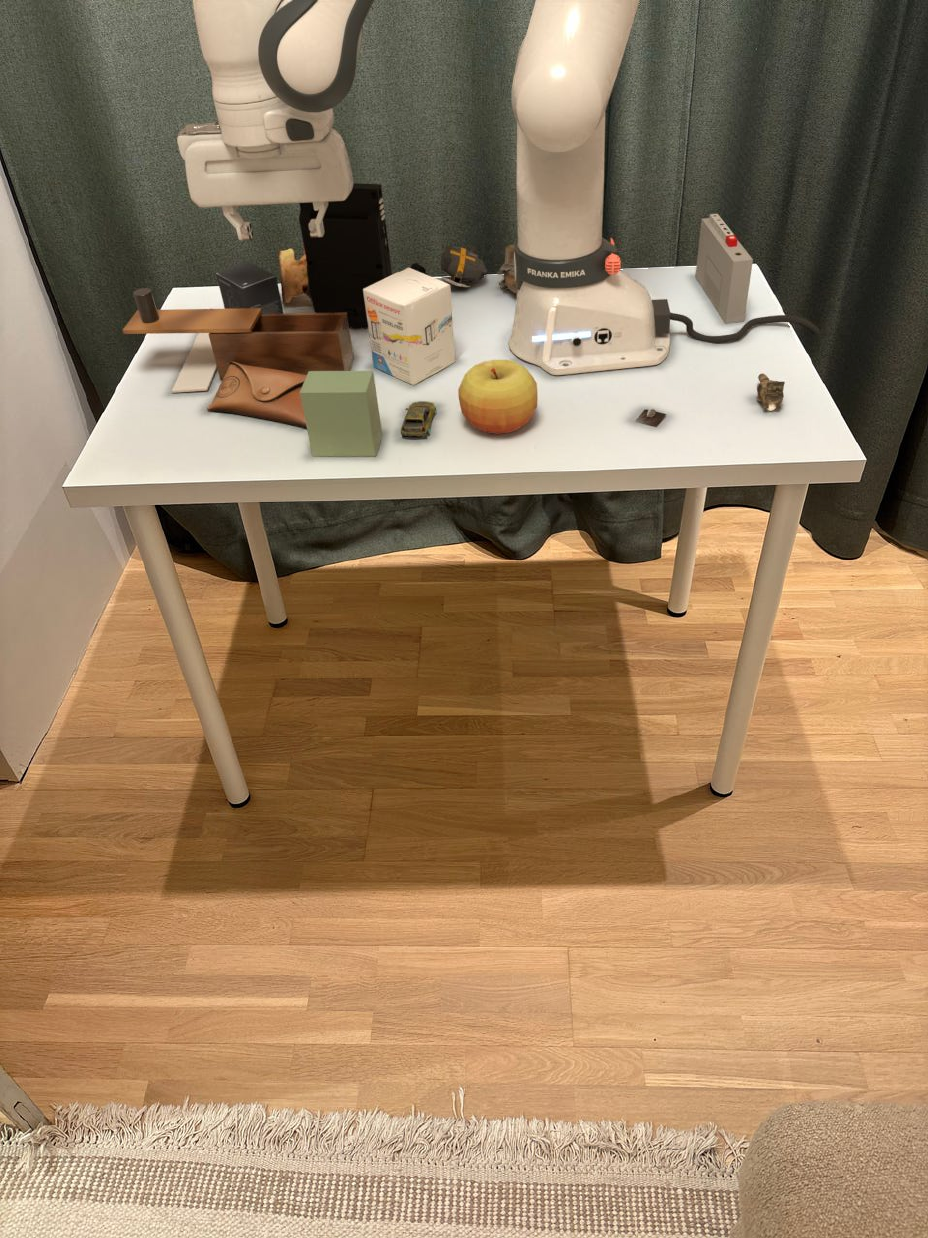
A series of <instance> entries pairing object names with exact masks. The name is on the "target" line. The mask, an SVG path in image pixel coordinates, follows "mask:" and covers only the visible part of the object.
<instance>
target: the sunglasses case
mask: <svg viewBox="0 0 928 1238" xmlns="http://www.w3.org/2000/svg"><path fill="white" fill-rule="evenodd" d="M306 377H307V375H304V374H298V373H293V372H287V371H281V370H275V369H269V368H261V367H255V366H248V365H243V364H239V363H236V362H230V366H229V368H228V369H227V372H226V374H225V376H224V378H223V380H222V381H221V383H220V385H219V386H218V389H217V391H216V393H215V395H214V397H213V400H212V402H211V403H210V404H209V405H208V406H207V407H206V410H208V411H212V412H213V411H214V412H223V413H231V414H235V415H241V416H247V417H252V418H257V419H260V420H261V419H262V420H266V421H271V422H275V423H279V424H283V425H289V426H295V427H301V428H307V426H306V421H305V416H304V411H303V406H302V401H301V397H300V390H301V388H302V386H303V383H304V381H305V379H306Z"/></svg>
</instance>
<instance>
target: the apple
mask: <svg viewBox="0 0 928 1238" xmlns="http://www.w3.org/2000/svg"><path fill="white" fill-rule="evenodd" d="M538 399H539V398H538V384H537V382H536V380H535V378H534V376H533V375H532V373H531V372H530V371H529V370H528V369H527V367H525V365H524V366H523V364H520V363H518V362H516V361H512V360H508V359H491V360H485V361H482V362H480V363H478V364H477V363H476V364H474V365H473V366H472V367H471V368H470V369H469V370H467V372H465V374H464V376H463V378H462V379H461V382H460V385H459V387H458V401H459V402H458V403H459V406H460V410H461V413H462V415H463V416H464V418H465V419H466V420H467V422H468V423H470V424H471V425H472V426H473V427H474V428H476V429H478V430H480V431H482V432H485V433H489V434H496V435H498V434H507V433H511V432H515V431H517V430H518V429H520V428H521V427H523V426H525V425H526V424H528V422H529V421H530V420H531V418H532V417H533V416H534V413H535V411H536V410H537V408H538Z"/></svg>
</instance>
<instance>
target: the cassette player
mask: <svg viewBox="0 0 928 1238" xmlns="http://www.w3.org/2000/svg"><path fill="white" fill-rule="evenodd" d="M697 248H698V249H697V258H696V268H695V277H694V278H695V279H696V281H697V283H698V284H699V286H700V287H701V289H702V290H703V292H704V293H705V296H707V298H708V299H709V301H710V302H711V304H712V305H713V307H714V308H715V311H716V312H717V313H718V315H719V317H721V319H722V321H723V322H724V323H725V324H734V323H741V322H745V318H746V310H747V304H748V296H749V291H750V290H749V289H750V282H751V275H752V270H753V263H754V259H753V257H752V256H751V255H750V254H749V253H748V251H747V250H746V248H744V246H743V245H742V243H741V242H740V241H739V239H738V238H737V237H736V235H735V234H734V232H733V231H732V230H731V229H730V228H729V226H728V225H727V224H726V223H725V221H724V220H723V219H722V217H721V216H720V215H719V213H709V217H705V218H701V221H700V230H699V240H698V247H697Z"/></svg>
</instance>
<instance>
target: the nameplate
mask: <svg viewBox="0 0 928 1238" xmlns="http://www.w3.org/2000/svg"><path fill="white" fill-rule="evenodd" d="M208 334H209V333H197V336H196V338H195V340H194V342H193V344H192V346H191V349H190V351H189V353H188V355H187V357H186V360H185V362H184V364H183V366H182V368H181V370H180V371H179V374H178V377H177V379H176V381H175V383H174V384H173V386H172V389H171V393H173V394H175V393H187V392H188V393H190V392H191V393H192V392H203V391H208V390H209V389H210V385H211V383H212V382H213V378H214V376H215V375H216V372H217V370H218V369H217V365H216V361H215V357H214V354H213V350H212V346H211V342H210V339H209V335H208Z"/></svg>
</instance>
